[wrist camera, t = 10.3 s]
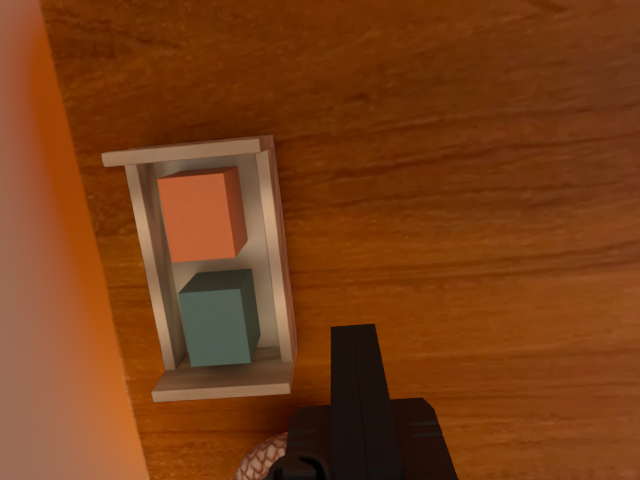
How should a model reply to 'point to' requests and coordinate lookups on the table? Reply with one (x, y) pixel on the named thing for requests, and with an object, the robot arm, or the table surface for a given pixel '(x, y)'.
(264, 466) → the acorn
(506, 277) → the table surface
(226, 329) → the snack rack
